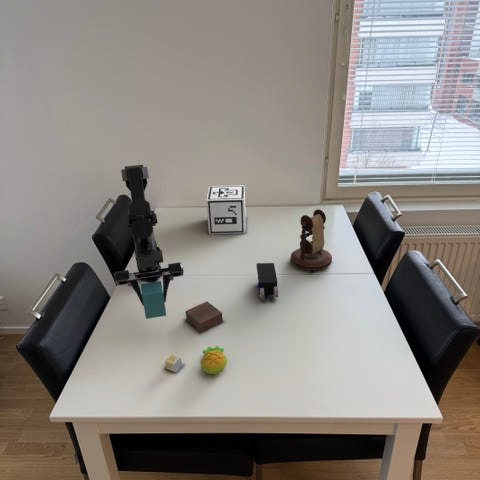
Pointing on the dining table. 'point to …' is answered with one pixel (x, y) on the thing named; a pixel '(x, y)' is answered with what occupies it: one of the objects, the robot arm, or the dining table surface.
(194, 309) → the walnut base
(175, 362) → the alphabet block
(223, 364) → the toy pineapple
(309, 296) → the dining table surface
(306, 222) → the brown upright piece
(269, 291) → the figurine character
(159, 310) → the teal block
